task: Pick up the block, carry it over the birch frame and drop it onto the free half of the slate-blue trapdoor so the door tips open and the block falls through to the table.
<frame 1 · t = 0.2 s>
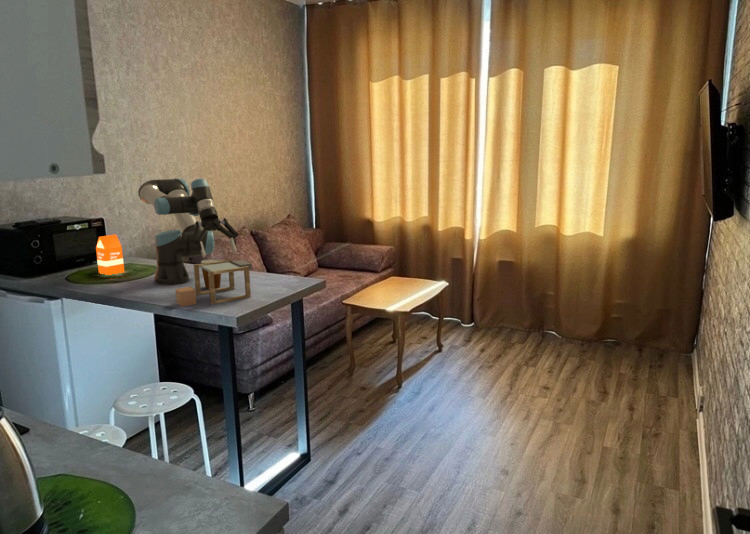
hand: (220, 254, 243), 16 cm above the table, tool tilted 35°, fingers open, 13 cm apart
orange juice: (112, 276, 273), on the table
disposable coffee cup: (213, 287, 250), on the table
trapdoor: (227, 267, 235), point 12 cm above the table, hinge at 0.0°
block: (186, 303, 225), on the table
frame: (223, 295, 236), on the table
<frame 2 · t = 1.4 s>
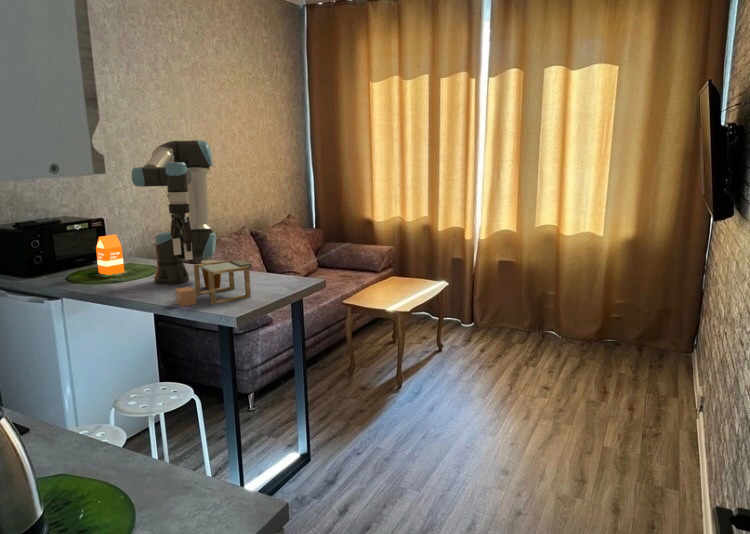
hand: (183, 257, 221), 19 cm above the table, tool pointing down, fingers open, 13 cm apart
nothing on the table moved.
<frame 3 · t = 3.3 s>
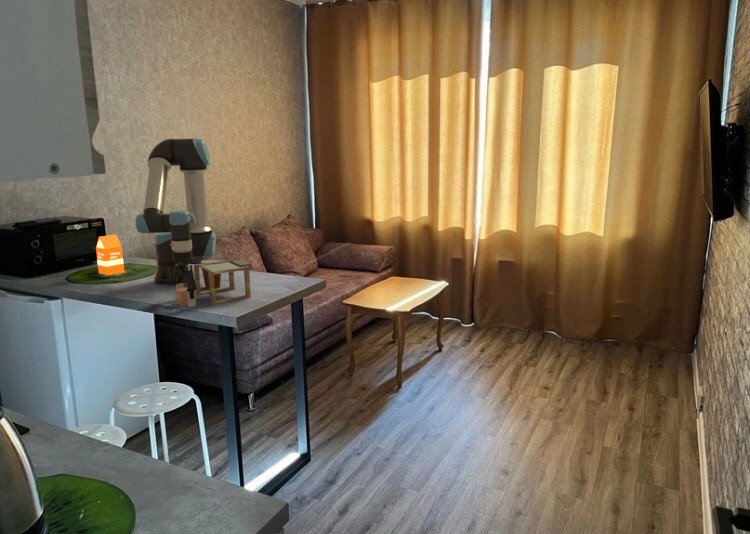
hand: (186, 302, 225), 0 cm above the table, tool pointing down, fingers open, 13 cm apart
nothing on the table moved.
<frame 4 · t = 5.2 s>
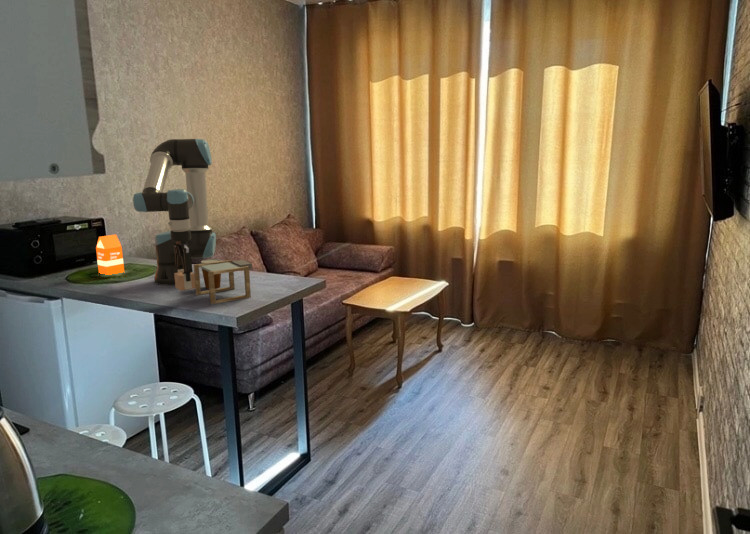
hand: (185, 286, 224), 7 cm above the table, tool pointing down, fingers closed on block, 6 cm apart
block: (185, 287, 224), point 6 cm above the table, touching gripper
everything else where it was.
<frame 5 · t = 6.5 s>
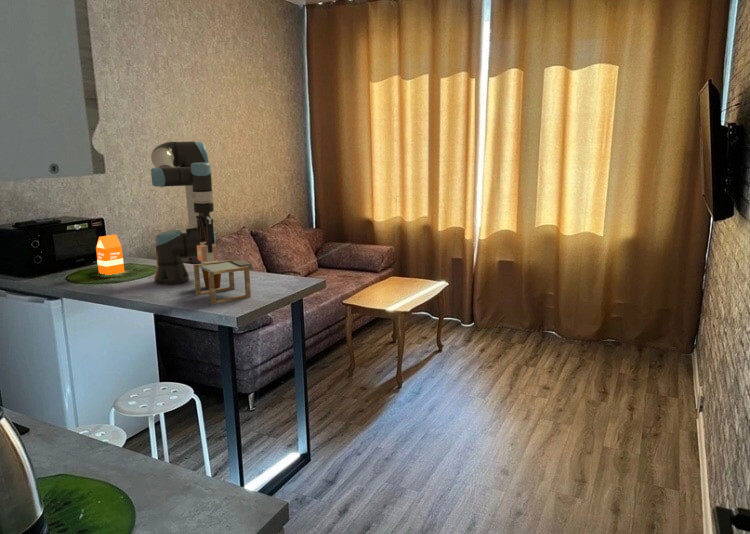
hand: (207, 258, 229), 17 cm above the table, tool pointing down, fingers closed on block, 6 cm apart
block: (207, 259, 229), point 16 cm above the table, touching gripper
everything else where it was.
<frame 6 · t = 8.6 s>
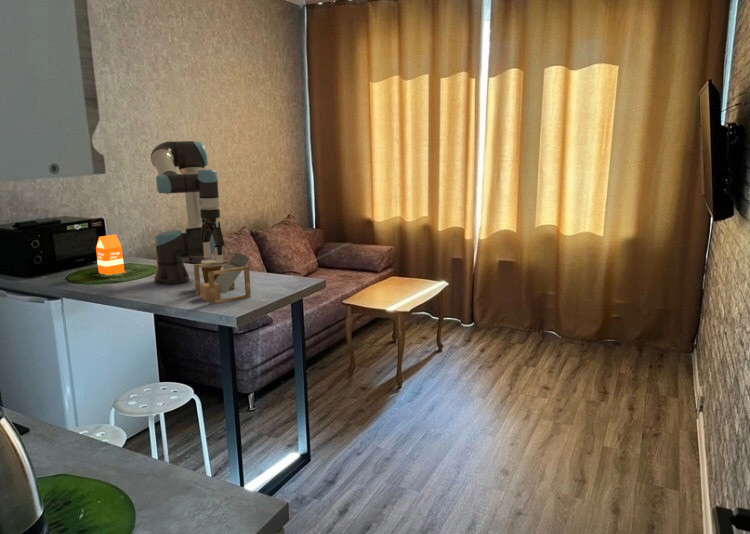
hand: (213, 260, 230), 16 cm above the table, tool pointing down, fingers open, 13 cm apart
trapdoor: (230, 272, 236), point 10 cm above the table, hinge at -48.5°, touching block
block: (217, 290, 234), point 3 cm above the table, tilted 90°, touching trapdoor
everything else where it was.
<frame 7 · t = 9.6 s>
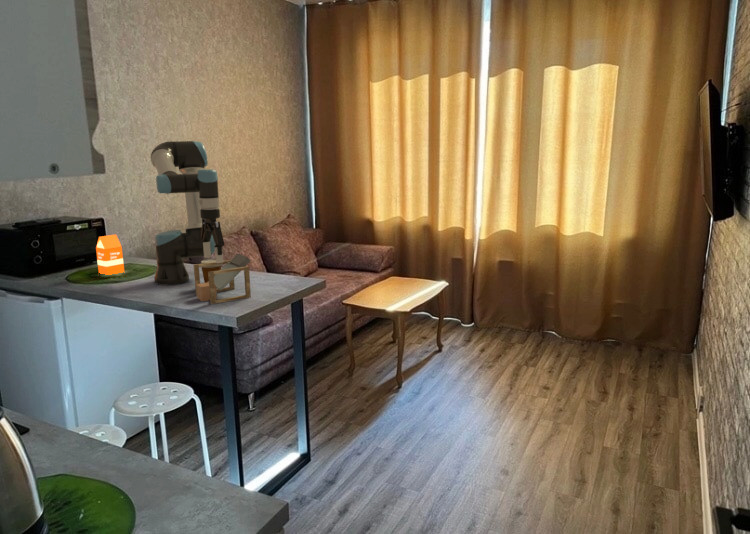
hand: (213, 260, 230), 16 cm above the table, tool pointing down, fingers open, 13 cm apart
trapdoor: (229, 271, 235), point 10 cm above the table, hinge at -37.3°, touching block
block: (213, 290, 233), point 3 cm above the table, tilted 90°, touching trapdoor
everything else where it was.
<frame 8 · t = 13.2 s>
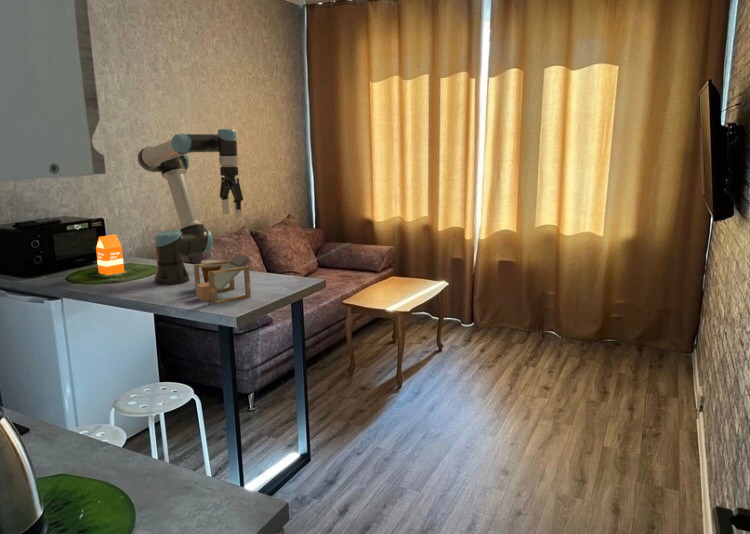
hand: (232, 215, 245), 32 cm above the table, tool pointing down, fingers open, 13 cm apart
trapdoor: (229, 271, 235), point 10 cm above the table, hinge at -36.9°, touching block
everything else where it was.
at the end: block point 3.1 cm above the table; block inside the target area (2.9 cm from its centre), point 3.1 cm above the table; the gripper is holding nothing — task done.
